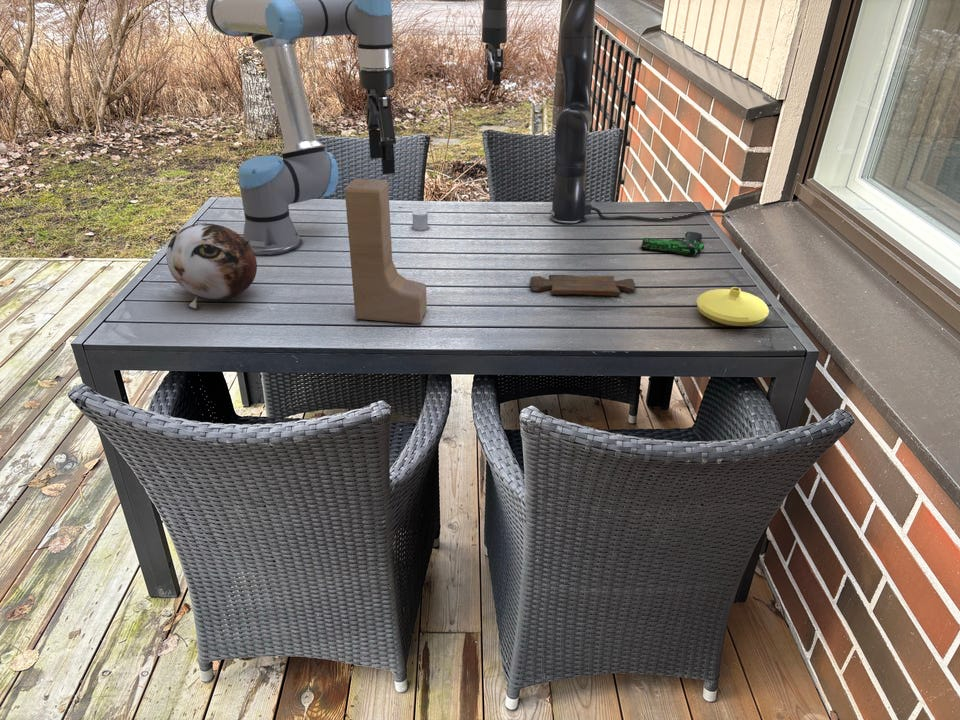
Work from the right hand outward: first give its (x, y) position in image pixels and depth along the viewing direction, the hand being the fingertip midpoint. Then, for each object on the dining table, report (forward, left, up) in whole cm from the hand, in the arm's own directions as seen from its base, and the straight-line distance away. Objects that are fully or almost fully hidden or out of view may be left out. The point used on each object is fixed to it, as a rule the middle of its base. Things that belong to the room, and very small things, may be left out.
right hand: (493, 82), depth 222 cm
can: (+28, +29, -35) cm, 54 cm away
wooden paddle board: (-6, +78, -35) cm, 85 cm away
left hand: (+40, +62, -7) cm, 74 cm away
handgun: (-40, +56, -35) cm, 77 cm away
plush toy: (+81, +67, -35) cm, 111 cm away
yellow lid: (-34, +99, -35) cm, 110 cm away
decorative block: (+42, +84, -35) cm, 100 cm away
